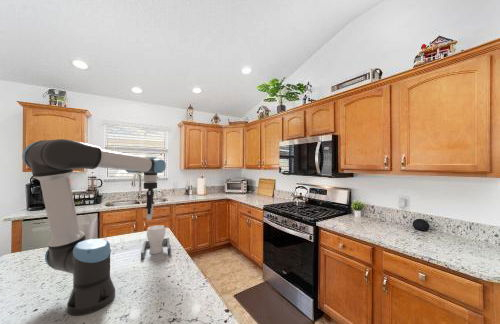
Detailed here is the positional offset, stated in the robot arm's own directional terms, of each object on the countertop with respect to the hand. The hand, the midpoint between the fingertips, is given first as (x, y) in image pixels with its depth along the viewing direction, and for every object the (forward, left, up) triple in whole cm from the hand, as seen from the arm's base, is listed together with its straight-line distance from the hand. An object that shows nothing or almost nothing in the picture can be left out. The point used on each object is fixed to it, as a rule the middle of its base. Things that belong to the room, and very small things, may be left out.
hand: (149, 217), depth 125 cm
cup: (+3, -3, -23) cm, 23 cm away
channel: (+3, -3, -22) cm, 23 cm away
